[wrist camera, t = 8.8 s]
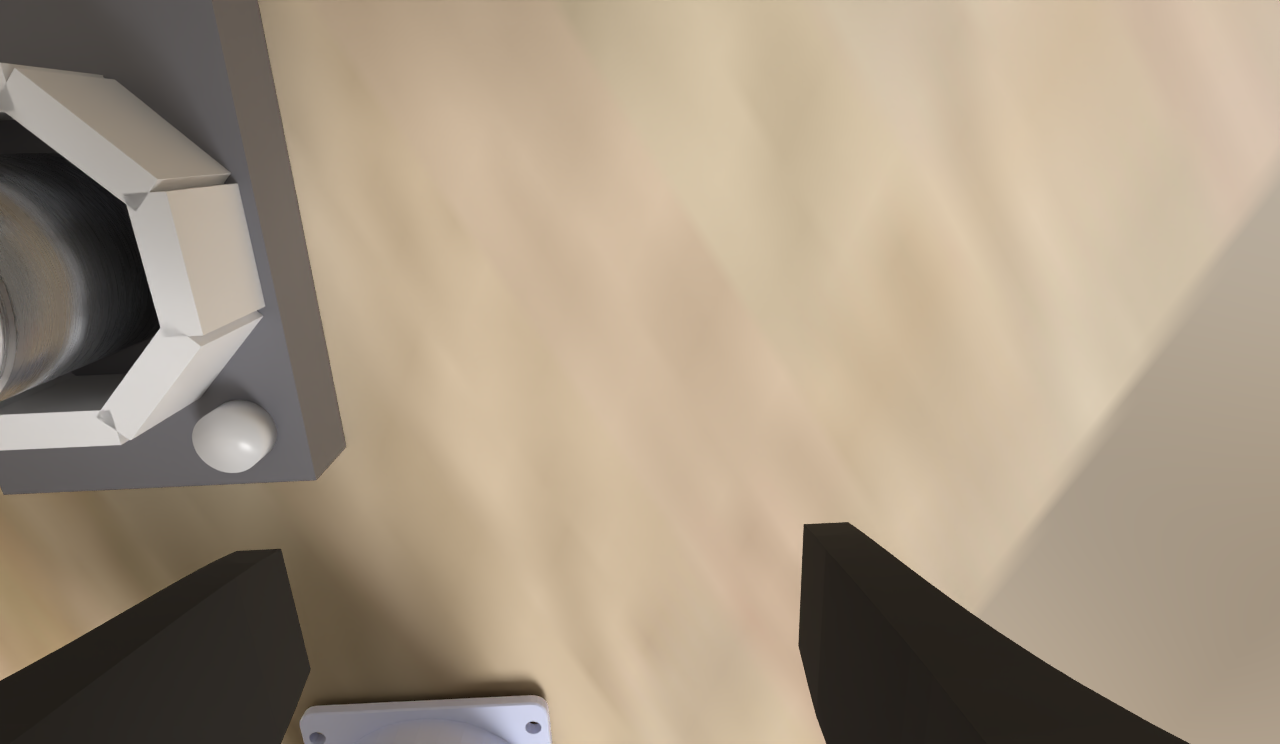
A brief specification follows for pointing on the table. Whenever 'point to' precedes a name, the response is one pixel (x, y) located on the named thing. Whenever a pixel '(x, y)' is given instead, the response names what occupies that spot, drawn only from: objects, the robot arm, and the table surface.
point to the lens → (64, 273)
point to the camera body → (173, 251)
